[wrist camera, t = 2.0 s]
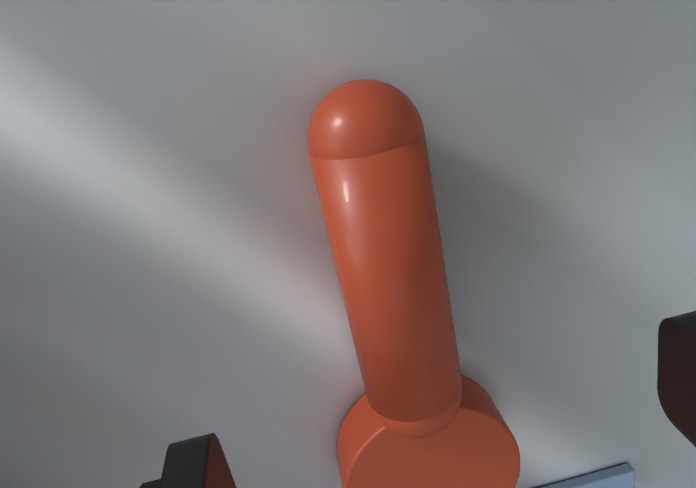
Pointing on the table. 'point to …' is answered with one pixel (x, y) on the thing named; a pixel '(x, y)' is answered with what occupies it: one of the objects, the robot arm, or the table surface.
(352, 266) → the terracotta spoon
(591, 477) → the blue mat
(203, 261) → the table surface
